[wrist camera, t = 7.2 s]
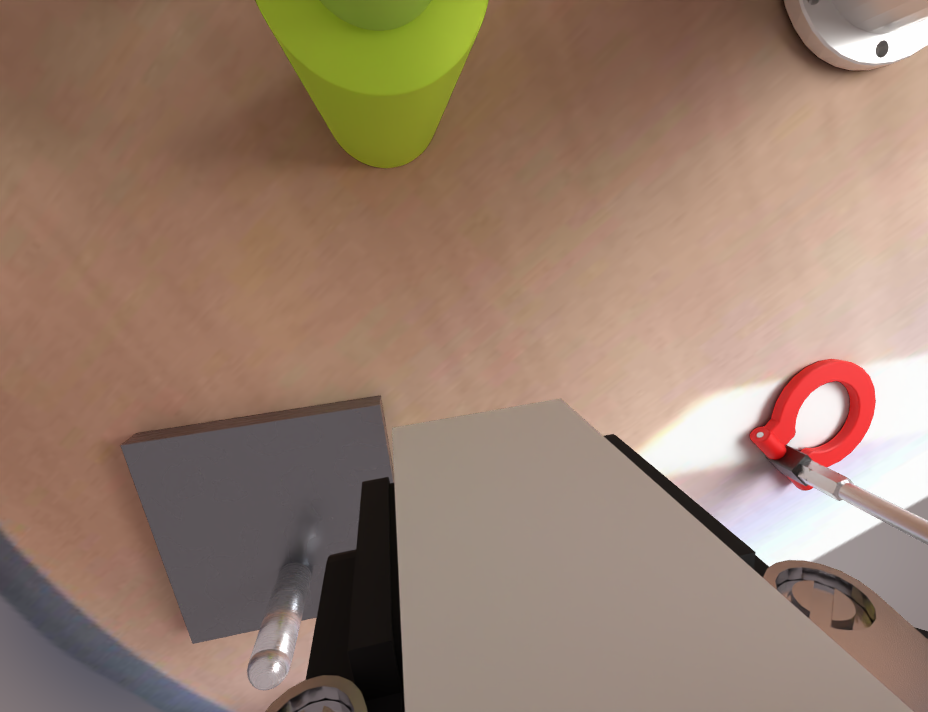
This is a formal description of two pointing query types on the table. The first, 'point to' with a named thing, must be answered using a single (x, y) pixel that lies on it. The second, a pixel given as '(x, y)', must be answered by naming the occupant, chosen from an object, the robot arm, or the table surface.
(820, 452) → the tow hook
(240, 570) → the plate
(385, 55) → the soap dispenser
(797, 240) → the table surface
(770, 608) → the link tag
